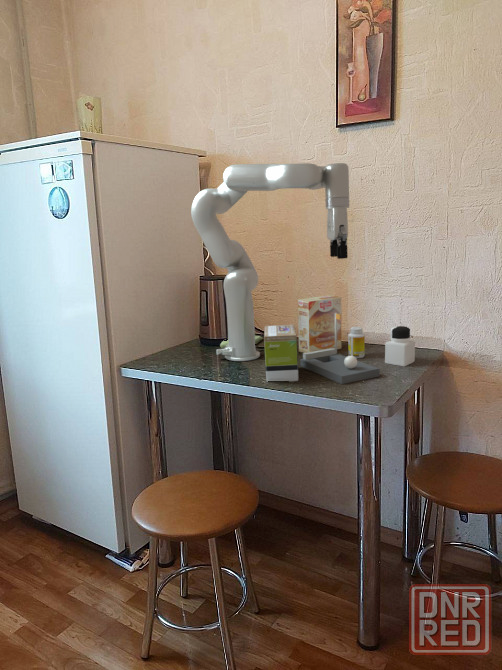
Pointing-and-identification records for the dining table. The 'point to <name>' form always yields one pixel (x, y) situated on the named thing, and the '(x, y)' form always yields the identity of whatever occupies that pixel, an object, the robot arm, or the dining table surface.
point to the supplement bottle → (356, 343)
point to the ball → (350, 362)
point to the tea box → (281, 353)
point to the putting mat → (337, 364)
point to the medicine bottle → (400, 347)
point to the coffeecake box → (318, 323)
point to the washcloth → (224, 343)
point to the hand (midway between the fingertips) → (338, 257)
